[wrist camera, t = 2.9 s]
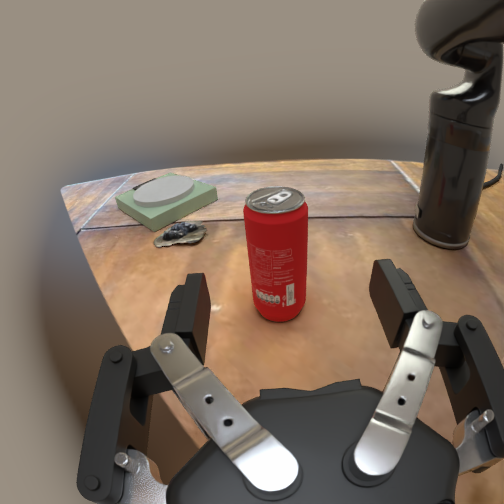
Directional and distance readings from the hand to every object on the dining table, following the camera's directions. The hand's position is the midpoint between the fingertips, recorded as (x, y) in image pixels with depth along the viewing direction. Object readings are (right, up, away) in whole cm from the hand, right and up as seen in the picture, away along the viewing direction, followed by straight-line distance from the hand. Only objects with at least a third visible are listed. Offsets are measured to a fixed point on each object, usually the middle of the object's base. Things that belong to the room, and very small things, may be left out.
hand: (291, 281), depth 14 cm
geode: (-12, +3, +30) cm, 32 cm away
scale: (-18, +10, +39) cm, 44 cm away
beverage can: (+1, -4, +17) cm, 18 cm away
